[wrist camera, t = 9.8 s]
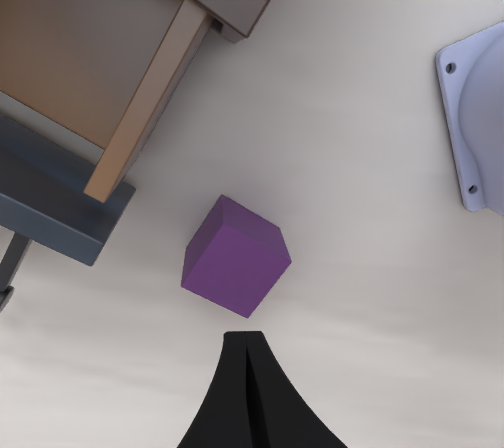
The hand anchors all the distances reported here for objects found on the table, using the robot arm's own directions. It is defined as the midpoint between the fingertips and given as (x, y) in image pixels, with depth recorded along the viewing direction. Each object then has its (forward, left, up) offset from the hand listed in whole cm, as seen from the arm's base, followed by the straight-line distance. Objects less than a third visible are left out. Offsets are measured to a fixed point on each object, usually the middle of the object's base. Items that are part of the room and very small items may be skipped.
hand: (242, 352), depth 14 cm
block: (0, 0, -9) cm, 9 cm away
